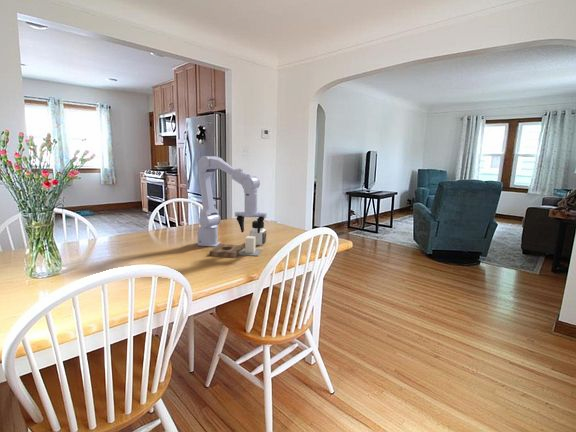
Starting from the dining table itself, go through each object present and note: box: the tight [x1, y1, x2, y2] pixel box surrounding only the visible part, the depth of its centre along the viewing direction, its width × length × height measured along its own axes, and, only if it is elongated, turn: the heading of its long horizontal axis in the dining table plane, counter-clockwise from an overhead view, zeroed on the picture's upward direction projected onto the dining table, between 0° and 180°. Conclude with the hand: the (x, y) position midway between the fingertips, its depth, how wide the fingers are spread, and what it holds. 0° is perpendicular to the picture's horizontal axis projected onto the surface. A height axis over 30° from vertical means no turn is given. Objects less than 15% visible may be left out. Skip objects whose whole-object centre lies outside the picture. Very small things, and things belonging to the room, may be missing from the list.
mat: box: [238, 247, 263, 257], centre depth 149 cm, size 9×9×1 cm
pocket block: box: [209, 243, 243, 258], centre depth 148 cm, size 12×12×2 cm
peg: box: [244, 235, 257, 253], centre depth 148 cm, size 4×4×7 cm
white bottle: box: [248, 219, 267, 246], centre depth 163 cm, size 7×7×12 cm
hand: (250, 232), depth 147 cm, fingers open, 7 cm apart
